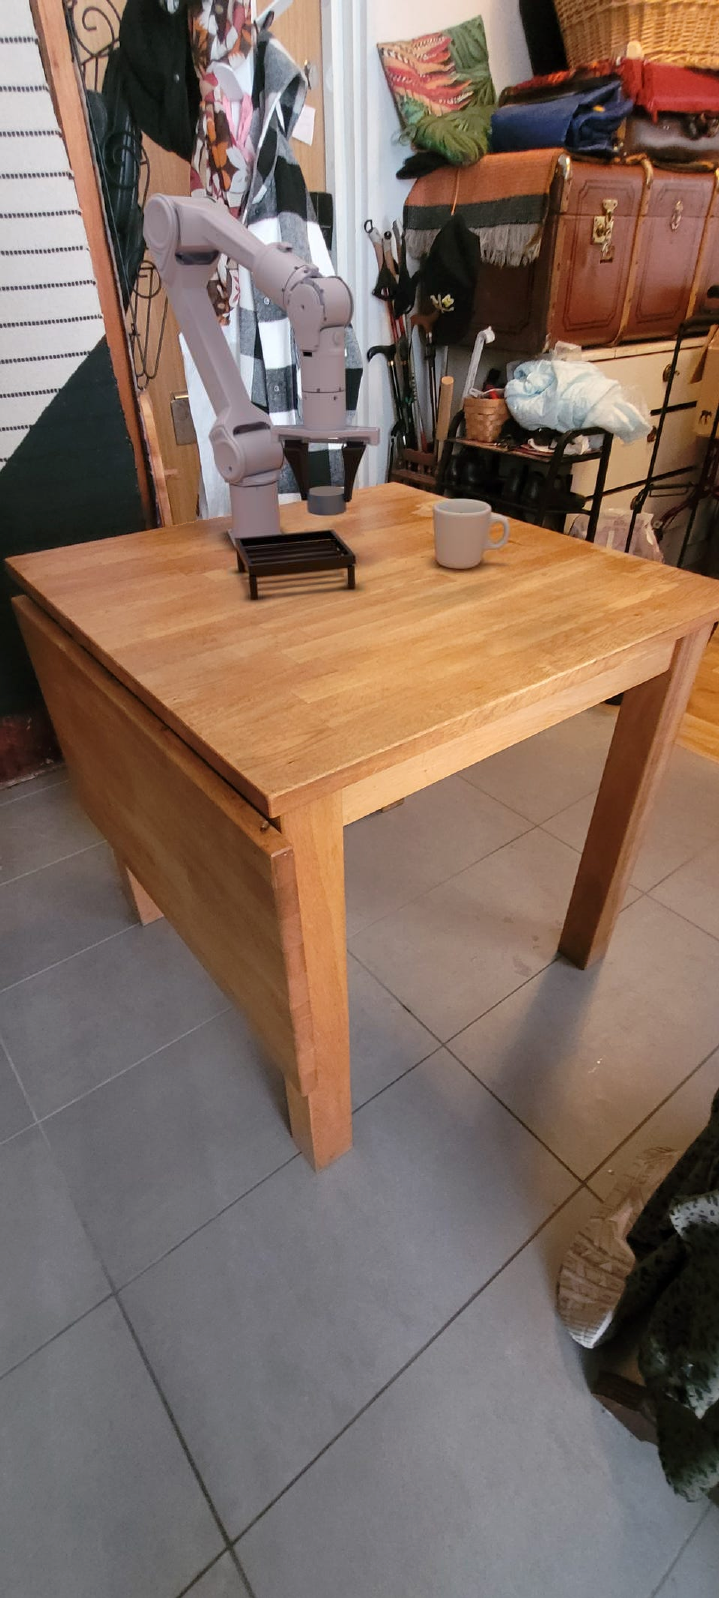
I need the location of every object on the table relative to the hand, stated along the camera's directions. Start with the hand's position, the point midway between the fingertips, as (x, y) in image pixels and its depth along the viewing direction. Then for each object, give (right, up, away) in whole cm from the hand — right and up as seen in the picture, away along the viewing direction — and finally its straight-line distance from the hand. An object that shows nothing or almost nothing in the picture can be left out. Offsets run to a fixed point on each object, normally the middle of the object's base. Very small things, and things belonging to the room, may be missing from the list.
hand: (327, 499), depth 107 cm
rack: (-4, -12, -2) cm, 12 cm away
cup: (+20, -8, +3) cm, 22 cm away
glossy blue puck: (0, -1, +1) cm, 1 cm away
